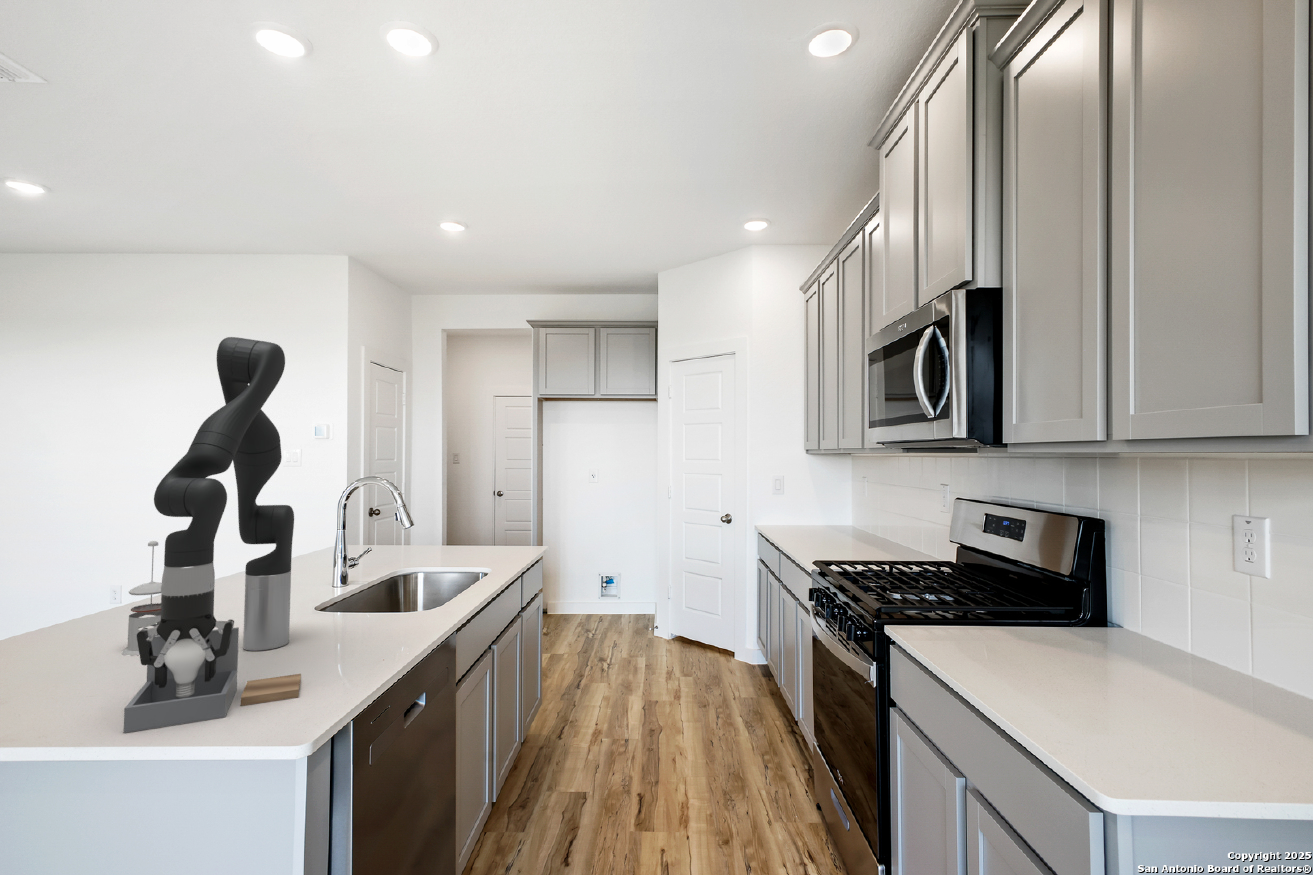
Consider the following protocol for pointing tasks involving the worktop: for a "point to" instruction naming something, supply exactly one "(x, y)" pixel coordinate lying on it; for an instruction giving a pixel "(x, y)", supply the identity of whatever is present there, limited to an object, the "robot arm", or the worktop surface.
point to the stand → (271, 689)
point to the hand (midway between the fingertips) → (185, 682)
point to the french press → (143, 611)
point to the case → (205, 704)
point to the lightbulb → (185, 665)
